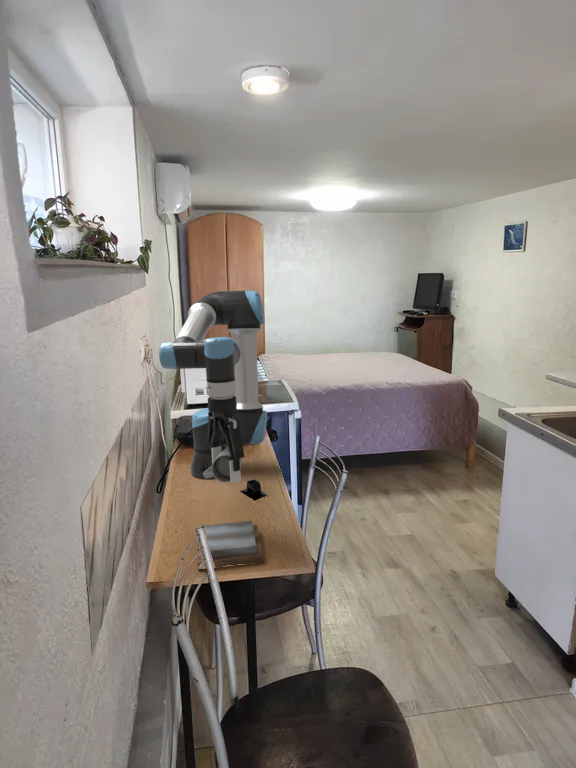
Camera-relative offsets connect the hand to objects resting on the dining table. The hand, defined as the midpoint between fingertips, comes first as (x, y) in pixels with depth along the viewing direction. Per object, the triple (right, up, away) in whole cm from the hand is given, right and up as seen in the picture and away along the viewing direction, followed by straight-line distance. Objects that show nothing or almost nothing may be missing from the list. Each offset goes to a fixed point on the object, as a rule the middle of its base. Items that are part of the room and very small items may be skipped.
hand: (226, 475), depth 135 cm
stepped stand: (+2, -18, -6) cm, 19 cm away
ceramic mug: (-1, -1, 0) cm, 1 cm away
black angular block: (+6, -12, +27) cm, 30 cm away
